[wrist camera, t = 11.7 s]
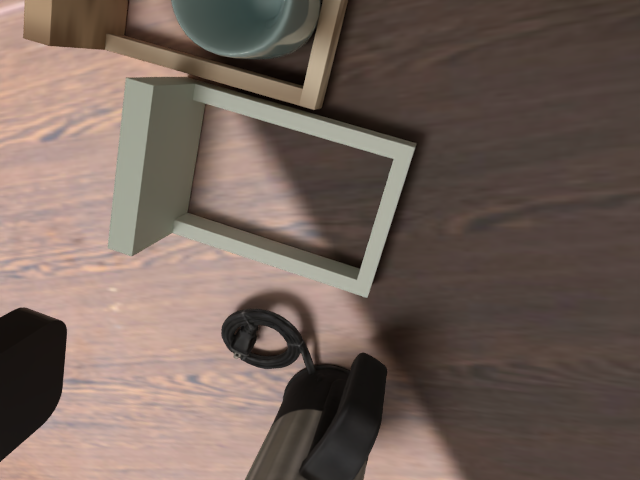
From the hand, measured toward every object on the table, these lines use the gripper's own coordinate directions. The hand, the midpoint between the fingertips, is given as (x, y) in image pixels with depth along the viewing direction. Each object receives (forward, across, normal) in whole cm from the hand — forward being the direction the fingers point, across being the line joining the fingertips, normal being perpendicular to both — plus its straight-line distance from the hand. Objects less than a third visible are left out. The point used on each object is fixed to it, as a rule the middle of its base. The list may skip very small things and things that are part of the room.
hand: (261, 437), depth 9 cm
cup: (+33, +12, -8) cm, 36 cm away
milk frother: (+33, +3, +22) cm, 40 cm away
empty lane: (+33, +8, +5) cm, 35 cm away
